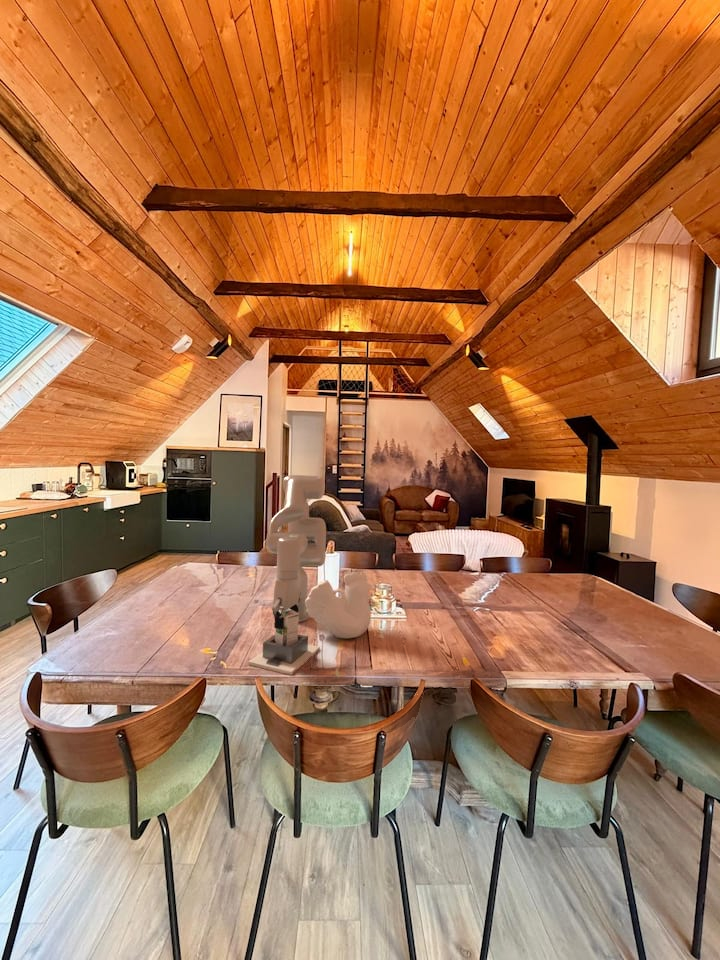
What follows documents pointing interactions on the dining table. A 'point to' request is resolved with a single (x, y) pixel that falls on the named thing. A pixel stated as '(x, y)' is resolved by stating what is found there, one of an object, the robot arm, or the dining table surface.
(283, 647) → the pocket stand
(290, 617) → the syrup box
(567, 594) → the dining table surface
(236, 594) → the dining table surface
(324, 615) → the decorative rooster
